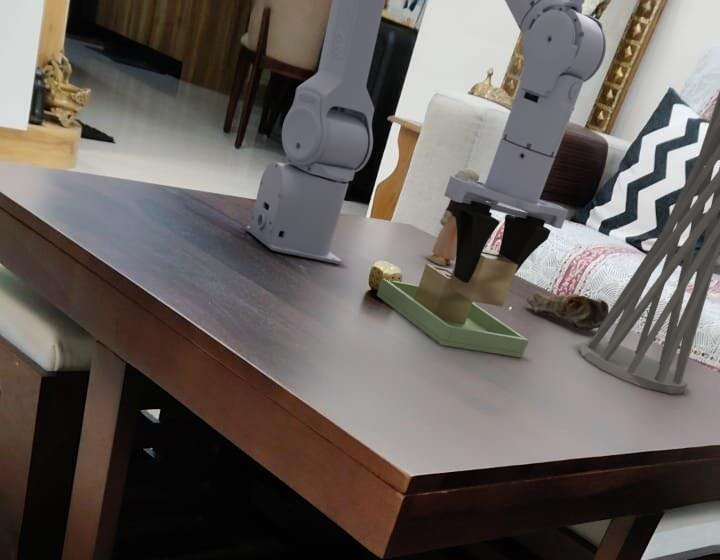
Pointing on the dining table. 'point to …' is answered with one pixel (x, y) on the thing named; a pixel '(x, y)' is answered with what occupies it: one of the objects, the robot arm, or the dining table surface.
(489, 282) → the wooden i block
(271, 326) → the dining table surface
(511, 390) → the dining table surface
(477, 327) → the tray
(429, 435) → the dining table surface
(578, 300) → the rock
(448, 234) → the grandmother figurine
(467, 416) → the dining table surface
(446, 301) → the wooden h block
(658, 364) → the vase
